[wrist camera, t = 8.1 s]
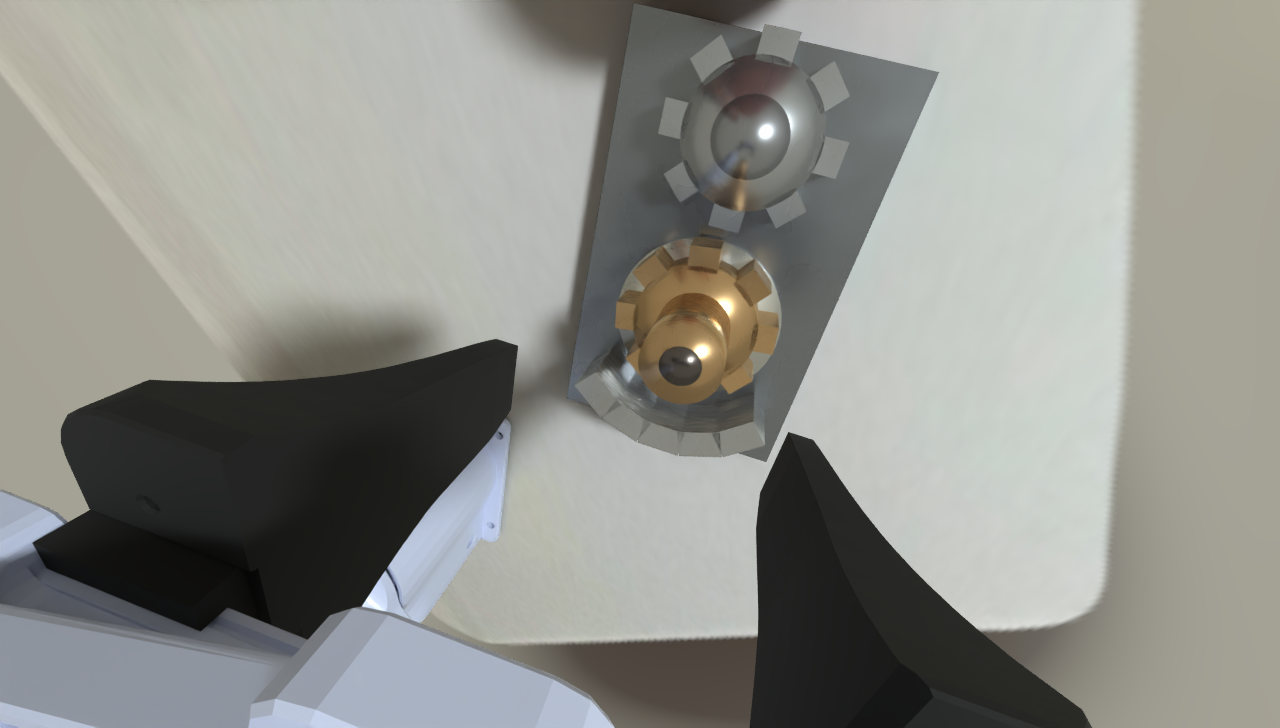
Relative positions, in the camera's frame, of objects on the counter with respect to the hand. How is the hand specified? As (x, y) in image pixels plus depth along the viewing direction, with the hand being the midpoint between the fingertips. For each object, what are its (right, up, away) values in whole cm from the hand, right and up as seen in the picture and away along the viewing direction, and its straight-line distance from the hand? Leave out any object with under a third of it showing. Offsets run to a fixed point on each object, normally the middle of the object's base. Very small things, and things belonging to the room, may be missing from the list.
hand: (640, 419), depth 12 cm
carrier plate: (+3, +6, +8) cm, 10 cm away
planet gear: (+2, +4, +8) cm, 9 cm away
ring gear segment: (+2, 0, +10) cm, 10 cm away
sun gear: (+4, +9, +5) cm, 11 cm away
